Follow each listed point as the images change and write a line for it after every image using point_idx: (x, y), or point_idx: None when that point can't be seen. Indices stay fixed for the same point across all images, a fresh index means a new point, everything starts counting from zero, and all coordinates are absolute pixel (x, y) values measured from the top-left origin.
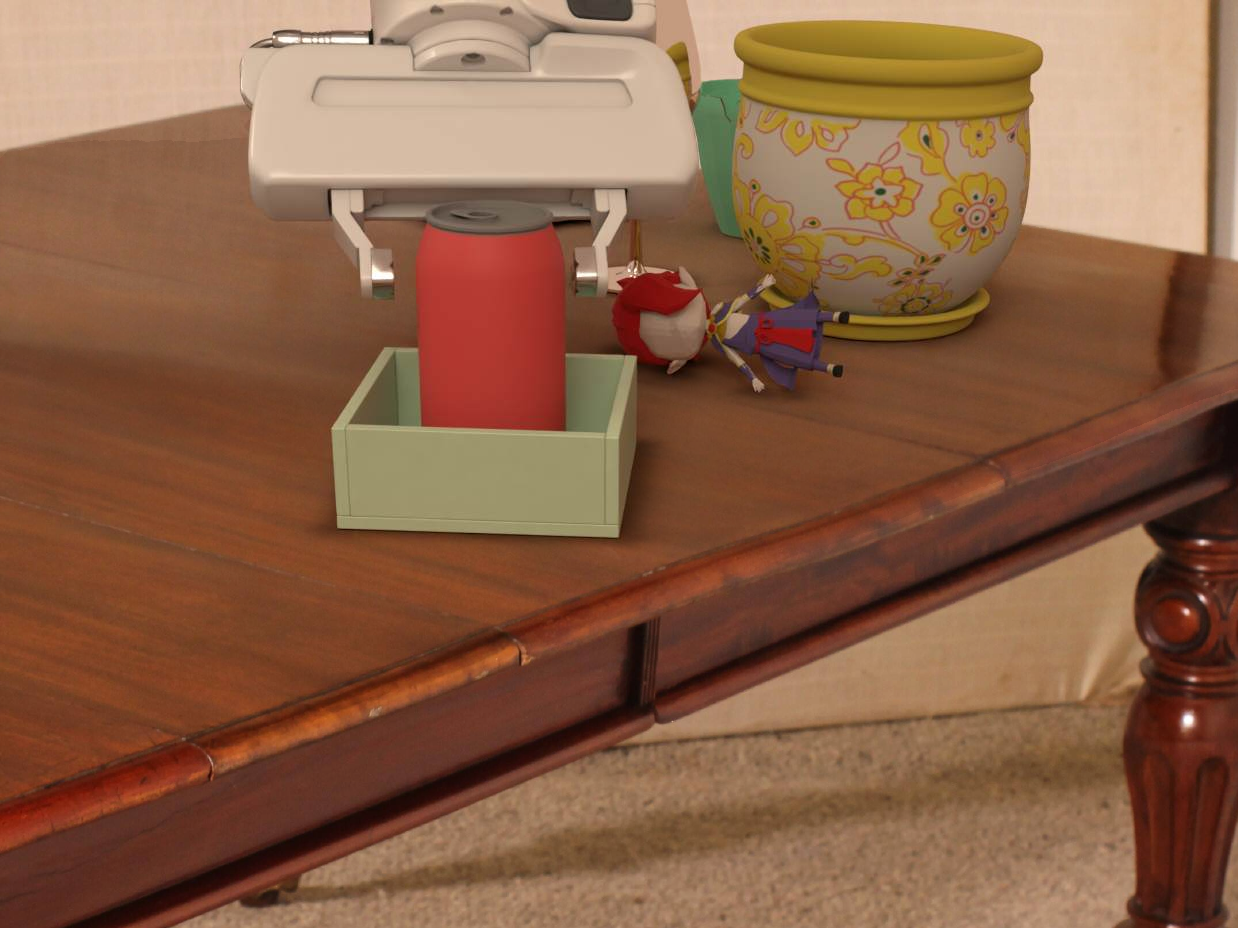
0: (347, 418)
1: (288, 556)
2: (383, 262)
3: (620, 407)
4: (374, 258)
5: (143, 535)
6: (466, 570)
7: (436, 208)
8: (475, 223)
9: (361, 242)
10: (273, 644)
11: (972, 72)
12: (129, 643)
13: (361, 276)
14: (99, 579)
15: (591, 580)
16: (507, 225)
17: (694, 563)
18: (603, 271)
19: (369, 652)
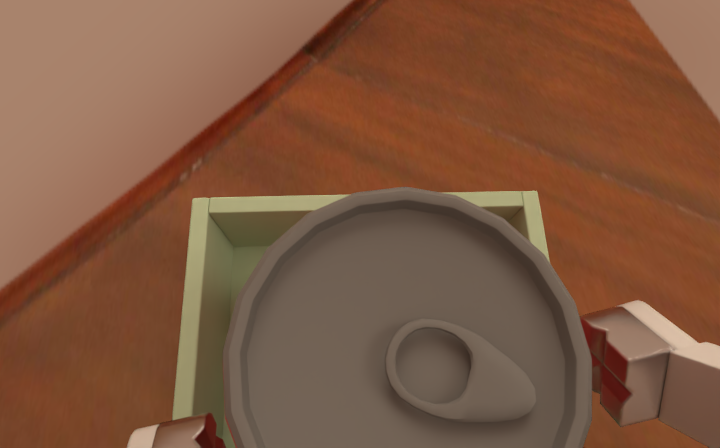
0: (531, 224)
1: (518, 169)
2: (623, 333)
3: (188, 316)
4: (648, 335)
5: (662, 200)
6: (357, 155)
7: (574, 389)
8: (434, 304)
9: (705, 351)
10: (468, 25)
11: None
12: (564, 20)
13: (643, 303)
14: (645, 112)
15: (247, 146)
16: (333, 206)
17: (152, 190)
18: (140, 439)
19: (398, 19)
